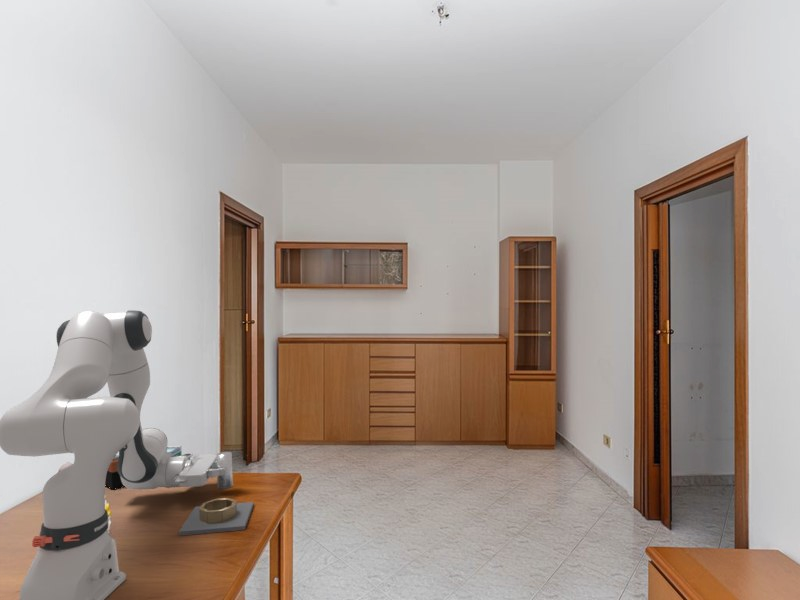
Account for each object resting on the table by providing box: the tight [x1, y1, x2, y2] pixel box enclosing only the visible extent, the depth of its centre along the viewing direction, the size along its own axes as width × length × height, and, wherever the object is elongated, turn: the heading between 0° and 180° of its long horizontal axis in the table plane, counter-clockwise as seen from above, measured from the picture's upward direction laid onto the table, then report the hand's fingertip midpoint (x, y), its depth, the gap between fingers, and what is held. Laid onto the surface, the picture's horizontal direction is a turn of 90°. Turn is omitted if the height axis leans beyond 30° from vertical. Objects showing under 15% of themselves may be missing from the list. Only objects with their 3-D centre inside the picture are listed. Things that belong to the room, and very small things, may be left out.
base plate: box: [178, 501, 255, 537], centre depth 142 cm, size 16×16×1 cm
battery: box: [105, 454, 124, 490], centre depth 171 cm, size 4×7×10 cm, turn 51°
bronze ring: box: [199, 497, 238, 524], centre depth 142 cm, size 9×9×3 cm
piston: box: [216, 451, 234, 490], centre depth 161 cm, size 4×4×10 cm
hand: (227, 468), depth 161 cm, fingers closed on piston, 4 cm apart
